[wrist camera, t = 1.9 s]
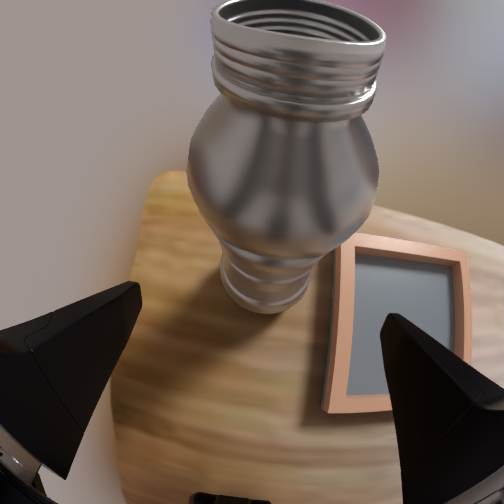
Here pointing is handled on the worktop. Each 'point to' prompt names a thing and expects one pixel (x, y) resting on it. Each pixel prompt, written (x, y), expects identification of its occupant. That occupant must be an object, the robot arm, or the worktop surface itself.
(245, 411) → the worktop surface
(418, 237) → the worktop surface
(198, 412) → the worktop surface
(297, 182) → the silver tall hollow piece
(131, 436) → the worktop surface
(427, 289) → the tray
